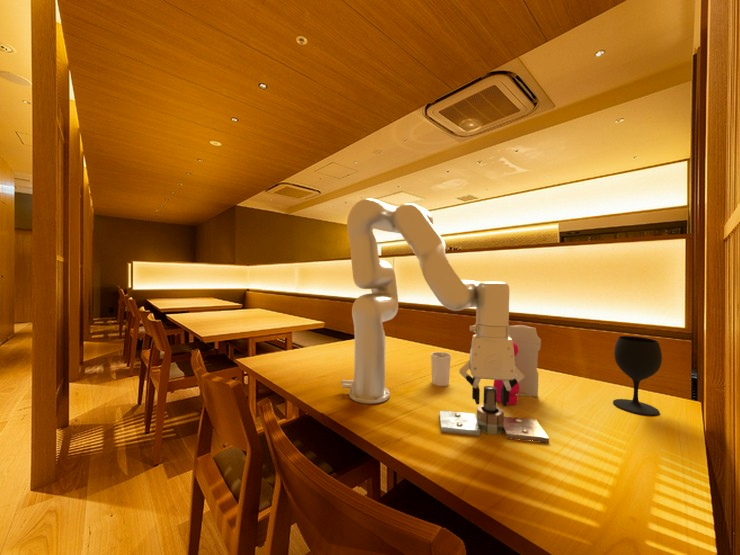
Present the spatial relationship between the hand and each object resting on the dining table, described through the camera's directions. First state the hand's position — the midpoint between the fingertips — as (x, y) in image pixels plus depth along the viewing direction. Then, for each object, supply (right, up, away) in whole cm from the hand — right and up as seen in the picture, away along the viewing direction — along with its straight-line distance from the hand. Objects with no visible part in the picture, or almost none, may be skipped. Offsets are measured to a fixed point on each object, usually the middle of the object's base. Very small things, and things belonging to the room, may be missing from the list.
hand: (490, 402), depth 77 cm
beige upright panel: (+18, -6, +22) cm, 29 cm away
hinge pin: (0, -6, 0) cm, 6 cm away
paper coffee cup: (-5, -6, +31) cm, 31 cm away
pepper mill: (+11, -6, +16) cm, 21 cm away
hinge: (0, -6, 0) cm, 6 cm away
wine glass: (+47, -7, +13) cm, 49 cm away
